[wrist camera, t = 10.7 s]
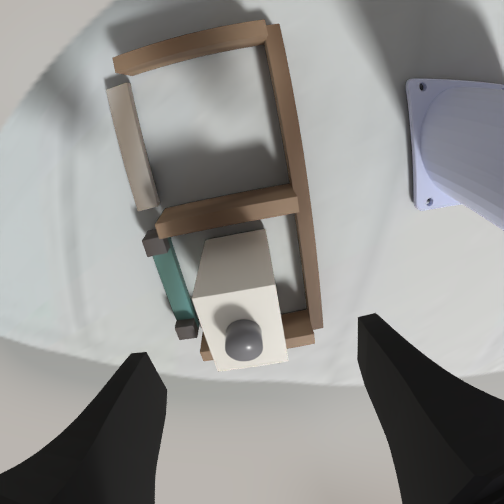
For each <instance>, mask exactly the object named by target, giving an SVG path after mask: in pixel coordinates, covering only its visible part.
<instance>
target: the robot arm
mask: <svg viewBox="0 0 504 504" xmlns="http://www.w3.org/2000/svg"><path fill="white" fill-rule="evenodd" d="M420 83H421V84H422V85H423V90H422V91H421V90H420V88H419V85H420ZM501 89H502V90H501ZM406 93H407V101H408V110H409V120H410V130H411V143H412V159H413V184H414V206H415V207H416V208H417V209H418V210H420V211H424V210H430V209H435V208H441V207H447V206H453V205H459V204H463V205H465V206H466V207H468V208H470V209H471V210H473V211H474V212H476V213H478V214H479V215H481V216H482V217H484V218H485V219H487V220H488V221H490V222H491V223H493V224H495V225H496V226H497V227H499V228H500V229H502V230H503V231H504V85H503V84H495V83H486V82H476V81H464V80H448V79H409V80H408V81H407V82H406ZM429 198H430V202H429V203H428V204H426V202H427V200H428V199H429ZM357 360H358V364H359V367H360V371H361V374H362V378H363V381H364V384H365V387H366V389H367V392H368V394H369V397H370V399H371V401H372V404H373V406H374V408H375V411H376V413H377V416H378V418H379V420H380V423H381V425H382V428H383V430H384V433H385V435H386V438H387V441H388V444H389V447H390V450H391V454H392V458H393V462H394V465H395V470H396V474H397V479H398V483H399V488H400V493H401V498H402V504H504V400H501V399H499V398H497V397H494V396H492V395H490V394H488V393H485V392H484V391H481V390H479V389H477V388H475V387H473V386H471V385H469V384H468V383H466V382H464V381H462V380H461V379H459V378H457V377H456V376H454V375H452V374H451V373H449V372H448V371H446V370H445V369H443V368H442V367H440V366H439V365H437V364H436V363H435V362H433V361H432V360H431V359H429V358H428V357H427V356H425V355H424V354H423V353H421V352H420V351H419V350H418V349H416V348H415V347H414V346H413V345H412V344H410V343H409V342H408V341H407V340H406V339H404V338H403V337H402V336H401V335H400V334H399V333H397V332H396V331H395V330H394V329H393V328H392V327H391V326H390V325H388V324H387V323H386V322H385V321H384V320H383V319H382V318H381V317H380V316H379V315H377V314H376V313H374V314H370V315H365V316H361V317H358V358H357ZM166 404H167V389H166V387H165V385H164V383H163V382H162V380H161V378H160V376H159V374H158V373H157V371H156V369H155V367H154V365H153V363H152V362H151V360H150V358H149V356H148V354H147V352H142V353H131V354H130V356H129V357H128V358H127V359H126V360H125V361H124V363H123V364H122V365H121V366H120V367H119V369H118V370H117V371H116V372H115V374H114V375H113V376H112V377H111V379H110V380H109V381H108V382H107V384H106V385H105V386H104V387H103V389H102V390H101V391H100V392H99V393H98V395H97V396H96V397H95V398H94V399H93V400H92V402H91V403H90V404H89V405H88V406H87V407H86V408H85V409H84V411H83V412H82V413H81V414H80V415H79V416H78V417H77V418H76V419H75V420H74V421H73V422H72V423H71V424H70V425H69V426H68V427H67V428H66V429H65V430H64V431H63V432H62V433H61V434H60V435H58V436H57V437H56V438H55V439H54V440H52V441H51V442H50V443H49V444H47V445H46V446H45V447H44V448H42V449H41V450H40V451H39V452H37V453H36V454H34V455H33V456H31V457H30V458H28V459H27V460H25V461H23V462H22V463H20V464H18V465H17V466H15V467H13V468H11V469H9V470H7V471H5V472H3V473H1V474H0V504H155V501H154V500H155V499H154V498H155V474H156V466H157V460H158V454H159V449H160V444H161V438H162V433H163V428H164V422H165V416H166Z"/></svg>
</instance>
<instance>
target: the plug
mask: <svg viewBox="0 0 504 504" xmlns="http://www.w3.org/2000/svg"><path fill="white" fill-rule="evenodd" d="M192 301H193V304H194V307H195V310H196V312H197V315H198V318H199V321H200V324H201V327H202V329H203V332H204V335H205V338H206V341H207V343H208V346H209V349H210V351H211V354H212V357H213V359H214V362H215V365H216V367H217V370H218V372H220V371H228V370H235V369H243V368H250V367H256V366H263V365H269V364H275V363H281V362H287V361H288V355H287V349H286V343H285V337H284V331H283V325H282V319H281V313H280V308H279V302H278V296H277V290H276V285H275V279H274V274H273V268H272V263H271V257H270V252H269V246H268V241H267V235H266V230H265V229H261V230H256V231H250V232H245V233H240V234H234V235H229V236H224V237H218V238H213V239H208V240H205V243H204V248H203V252H202V256H201V260H200V265H199V269H198V273H197V278H196V282H195V287H194V291H193V295H192Z"/></svg>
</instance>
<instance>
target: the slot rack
mask: <svg viewBox="0 0 504 504" xmlns="http://www.w3.org/2000/svg"><path fill="white" fill-rule="evenodd" d="M258 45H264V46H265V51H266V56H267V61H268V66H269V70H270V75H271V81H272V86H273V91H274V96H275V101H276V107H277V112H278V117H279V123H280V129H281V134H282V140H283V146H284V151H285V157H286V163H287V169H288V176H289V182H290V184H284V185H278V186H273V187H267V188H262V189H256V190H251V191H246V192H240V193H235V194H230V195H225V196H220V197H215V198H211V199H206V200H201V201H196V202H192V203H187V204H182V205H178V206H173V207H169V208H165V210H164V211H163V213H162V214H161V216H160V217H159V219H158V220H157V222H156V223H155V227H156V229H155V230H150V231H148V232H147V234H146V235H145V237H144V238H143V240H142V243H143V245H144V248H145V251H146V254H147V257H150V256H153V258H154V261H155V264H156V267H157V270H158V272H159V275H160V278H161V281H162V283H163V286H164V289H165V291H166V294H167V297H168V299H169V302H170V305H171V307H172V310H173V312H174V315H175V318H176V320H177V321H176V325H175V330H176V332H177V335H178V337H179V340H183V339H191V338H197V336H198V330H199V322H198V319H197V316H196V313H195V310H194V307H193V305H192V302H191V299H190V296H189V293H188V290H187V287H186V284H185V281H184V278H183V275H182V272H181V269H180V266H179V263H178V260H177V256H176V253H175V250H174V247H173V244H172V241H171V237H173V236H177V235H182V234H187V233H192V232H197V231H202V230H207V229H212V228H217V227H223V226H228V225H233V224H238V223H244V222H249V221H254V220H260V219H265V218H270V217H276V216H281V215H287V214H292V213H294V214H295V221H296V228H297V235H298V242H299V250H300V257H301V265H302V272H303V280H304V288H305V296H306V305H307V310H302V311H297V312H292V313H286V314H281V319H282V325H283V331H284V337H285V343H286V349H288V348H294V347H299V346H304V345H310V344H315V339H314V332H313V330H315V329H320V328H323V317H322V304H321V293H320V282H319V272H318V262H317V253H316V243H315V235H314V226H313V218H312V210H311V202H310V195H309V187H308V180H307V173H306V166H305V160H304V153H303V147H302V140H301V134H300V128H299V122H298V116H297V110H296V105H295V99H294V94H293V88H292V83H291V78H290V73H289V67H288V62H287V57H286V53H285V48H284V43H283V38H282V34H281V29H280V25H279V24H272V25H266V23H265V19H264V20H257V21H250V22H244V23H238V24H232V25H227V26H222V27H217V28H212V29H207V30H203V31H199V32H194V33H190V34H186V35H182V36H179V37H175V38H171V39H168V40H164V41H161V42H157V43H154V44H151V45H148V46H145V47H142V48H139V49H136V50H133V51H130V52H127V53H124V54H121V55H119V56H116V57H113V63H114V68H115V73H119V74H125V75H130V76H134V75H137V74H140V73H143V72H146V71H149V70H153V69H156V68H159V67H163V66H166V65H170V64H173V63H177V62H181V61H185V60H189V59H193V58H197V57H201V56H205V55H210V54H214V53H219V52H224V51H229V50H234V49H240V48H246V47H252V46H258ZM106 92H107V97H108V101H109V106H110V110H111V114H112V118H113V123H114V127H115V131H116V135H117V139H118V143H119V146H120V150H121V154H122V158H123V161H124V165H125V169H126V172H127V176H128V179H129V183H130V186H131V190H132V193H133V196H134V200H135V203H136V206H137V210H138V211H142V210H146V209H150V208H154V207H158V206H159V205H160V200H159V197H158V193H157V190H156V186H155V182H154V179H153V175H152V171H151V168H150V164H149V160H148V156H147V152H146V148H145V144H144V140H143V136H142V132H141V128H140V124H139V120H138V116H137V111H136V107H135V103H134V98H133V94H132V89H131V84H130V83H124V84H121V85H118V86H115V87H113V88H110V89H107V90H106ZM200 354H201V356H202V358H203V361H209V360H214V359H213V357H212V354H211V351H210V349H209V346H208V343H207V341H206V338H205V335H204V332H203V334H202V341H201V349H200Z"/></svg>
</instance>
